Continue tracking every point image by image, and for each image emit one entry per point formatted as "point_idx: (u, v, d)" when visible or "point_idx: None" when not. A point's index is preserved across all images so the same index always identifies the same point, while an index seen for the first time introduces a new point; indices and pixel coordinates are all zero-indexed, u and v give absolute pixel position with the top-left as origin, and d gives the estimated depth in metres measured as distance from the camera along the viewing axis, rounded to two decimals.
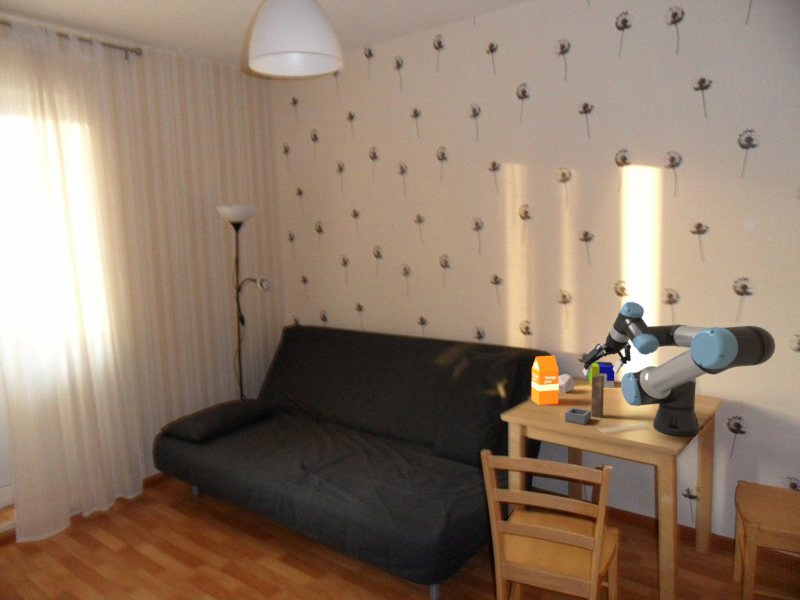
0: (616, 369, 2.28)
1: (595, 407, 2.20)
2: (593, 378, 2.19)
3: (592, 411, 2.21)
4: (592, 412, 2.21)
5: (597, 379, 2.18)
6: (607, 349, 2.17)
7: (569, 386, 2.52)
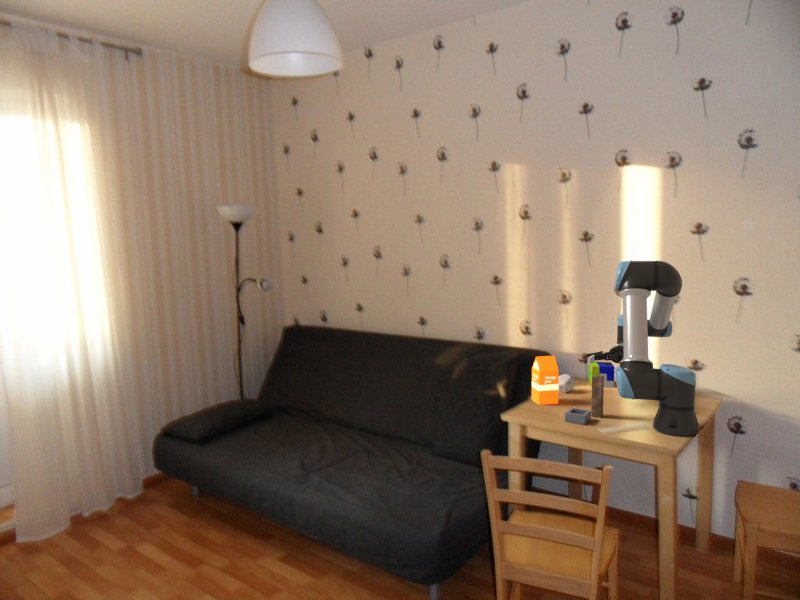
0: None
1: (595, 407, 2.20)
2: (593, 378, 2.19)
3: (592, 411, 2.21)
4: (592, 412, 2.21)
5: (597, 379, 2.18)
6: None
7: (569, 386, 2.52)
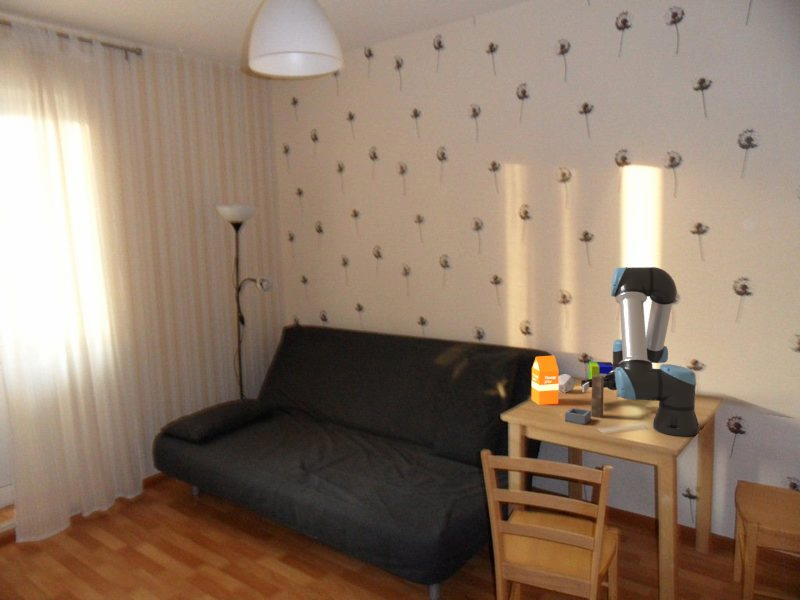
0: None
1: (595, 407, 2.20)
2: (593, 378, 2.19)
3: (592, 411, 2.21)
4: (592, 412, 2.21)
5: (597, 379, 2.18)
6: None
7: (569, 386, 2.52)
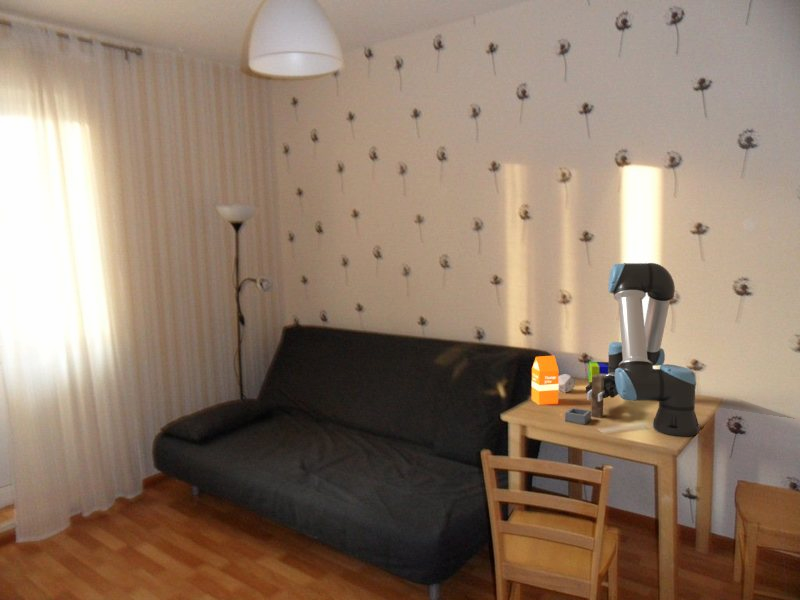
0: None
1: (595, 407, 2.20)
2: (593, 378, 2.19)
3: (592, 411, 2.21)
4: (592, 412, 2.21)
5: (597, 379, 2.18)
6: None
7: (569, 386, 2.52)
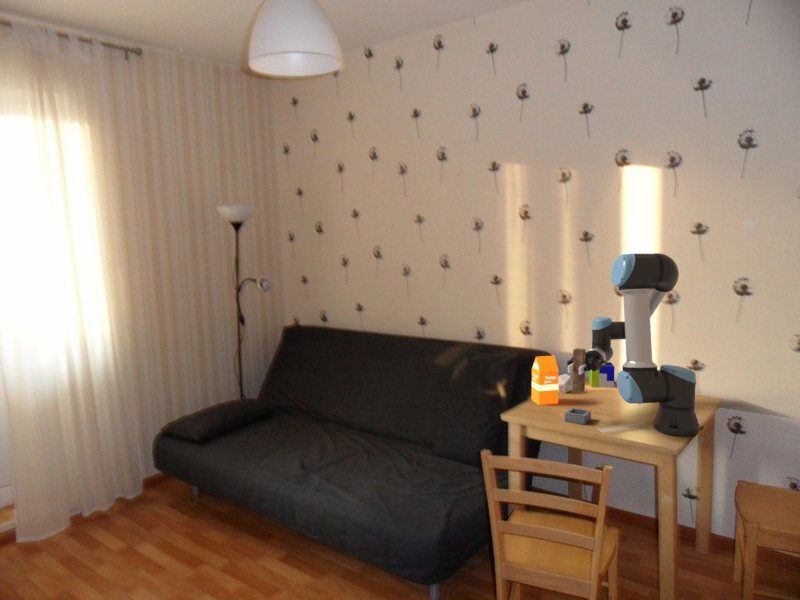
0: None
1: (576, 381, 2.14)
2: (574, 351, 2.13)
3: (573, 385, 2.15)
4: (573, 386, 2.15)
5: (578, 352, 2.12)
6: None
7: (569, 386, 2.52)
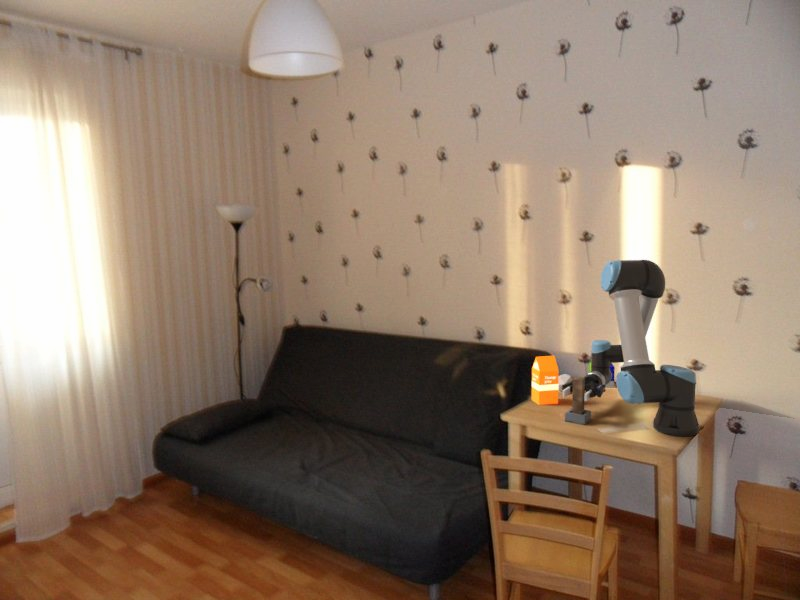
0: None
1: (576, 410, 2.15)
2: (574, 380, 2.14)
3: None
4: None
5: (578, 381, 2.13)
6: None
7: None
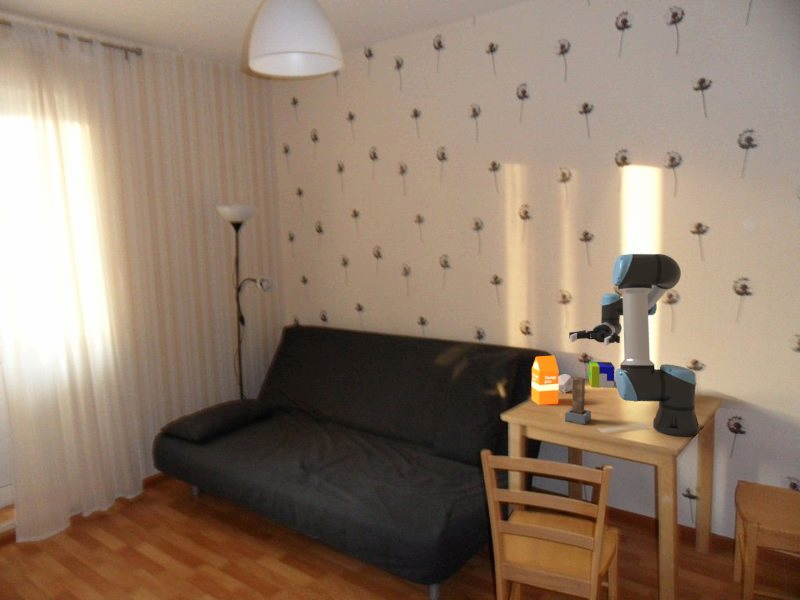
0: None
1: (576, 410, 2.15)
2: (574, 380, 2.14)
3: None
4: None
5: (578, 381, 2.13)
6: None
7: (569, 386, 2.52)
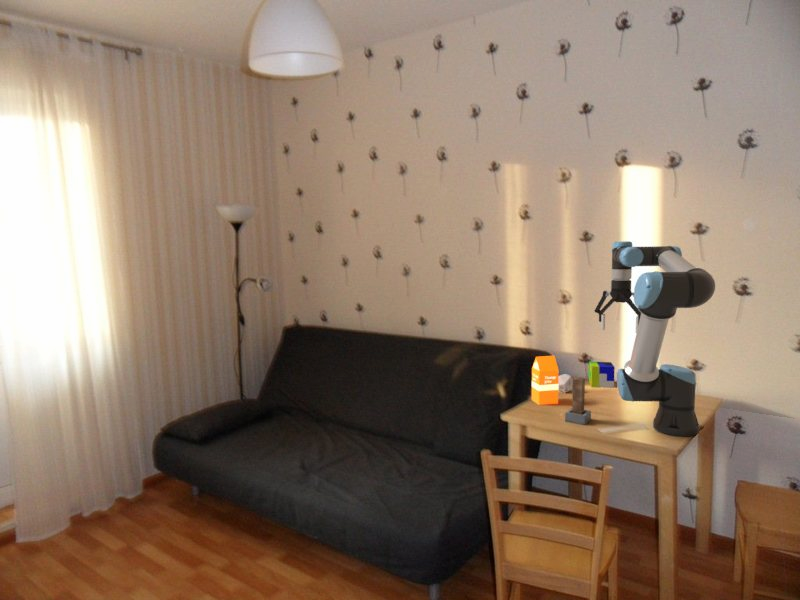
0: None
1: (576, 410, 2.15)
2: (574, 380, 2.14)
3: None
4: None
5: (578, 381, 2.13)
6: (612, 294, 2.29)
7: (569, 386, 2.52)
